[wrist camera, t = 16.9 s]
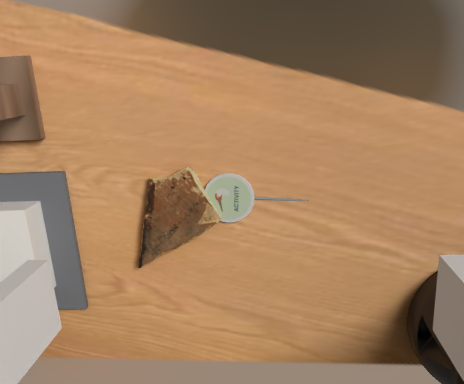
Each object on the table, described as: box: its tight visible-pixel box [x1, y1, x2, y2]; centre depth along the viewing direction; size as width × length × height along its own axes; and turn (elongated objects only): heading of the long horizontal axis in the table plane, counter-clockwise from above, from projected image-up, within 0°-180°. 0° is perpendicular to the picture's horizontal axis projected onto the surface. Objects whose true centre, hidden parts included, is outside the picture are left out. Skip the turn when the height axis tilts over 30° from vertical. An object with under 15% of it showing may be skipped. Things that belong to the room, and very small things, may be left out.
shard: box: [139, 167, 222, 268], centre depth 44 cm, size 11×8×2 cm
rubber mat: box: [0, 171, 88, 309], centre depth 47 cm, size 16×13×1 cm
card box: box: [0, 201, 56, 288], centre depth 45 cm, size 10×7×3 cm
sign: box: [204, 173, 309, 223], centre depth 43 cm, size 5×1×15 cm
